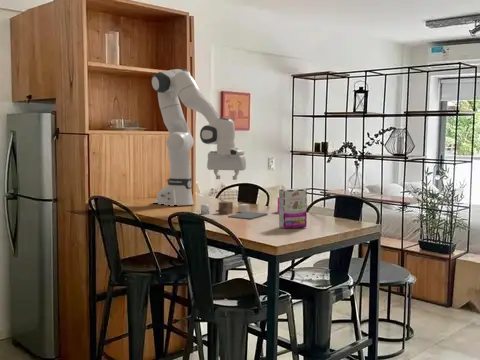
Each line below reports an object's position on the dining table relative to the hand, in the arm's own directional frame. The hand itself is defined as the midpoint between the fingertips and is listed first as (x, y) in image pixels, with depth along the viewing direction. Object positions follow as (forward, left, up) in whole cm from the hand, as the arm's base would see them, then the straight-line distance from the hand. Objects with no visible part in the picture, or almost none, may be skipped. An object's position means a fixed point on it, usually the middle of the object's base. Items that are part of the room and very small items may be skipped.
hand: (226, 179), depth 266 cm
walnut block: (0, 0, -17) cm, 17 cm away
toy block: (+24, +26, -18) cm, 40 cm away
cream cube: (+5, +10, -17) cm, 21 cm away
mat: (+13, -1, -17) cm, 21 cm away
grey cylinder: (-7, -8, -17) cm, 20 cm away
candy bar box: (+43, -18, -17) cm, 49 cm away
